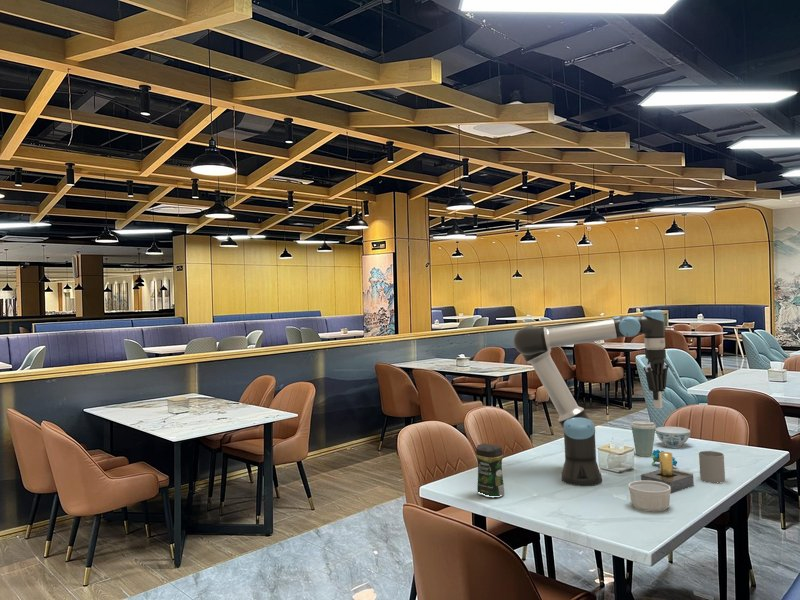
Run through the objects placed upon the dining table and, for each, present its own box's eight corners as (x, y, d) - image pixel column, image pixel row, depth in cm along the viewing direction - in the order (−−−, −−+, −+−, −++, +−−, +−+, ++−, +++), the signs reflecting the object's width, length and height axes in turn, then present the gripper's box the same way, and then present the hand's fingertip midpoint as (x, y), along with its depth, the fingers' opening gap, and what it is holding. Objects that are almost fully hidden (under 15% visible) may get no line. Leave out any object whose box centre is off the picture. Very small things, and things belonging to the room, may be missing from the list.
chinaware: (665, 441, 285) (664, 425, 285) (696, 445, 274) (695, 429, 274) (650, 446, 276) (649, 430, 276) (682, 451, 264) (681, 434, 264)
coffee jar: (473, 495, 214) (471, 444, 215) (487, 490, 220) (485, 440, 220) (494, 500, 207) (492, 448, 208) (508, 495, 213) (505, 444, 213)
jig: (670, 493, 207) (669, 480, 207) (641, 485, 217) (640, 473, 218) (693, 485, 214) (693, 473, 214) (664, 478, 225) (663, 466, 225)
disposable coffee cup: (628, 452, 266) (626, 419, 267) (652, 451, 266) (650, 419, 266) (636, 458, 256) (635, 424, 256) (661, 457, 255) (660, 423, 256)
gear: (683, 464, 237) (667, 449, 236) (677, 476, 235) (660, 460, 234) (662, 462, 247) (647, 447, 246) (656, 473, 245) (640, 458, 244)
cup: (711, 484, 215) (710, 457, 216) (695, 478, 223) (693, 452, 224) (730, 481, 218) (728, 454, 218) (713, 475, 226) (711, 450, 226)
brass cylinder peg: (669, 488, 213) (667, 455, 213) (658, 485, 217) (656, 453, 217) (676, 486, 215) (674, 453, 215) (665, 483, 219) (664, 451, 219)
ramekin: (622, 507, 195) (621, 486, 195) (639, 497, 204) (638, 477, 205) (662, 516, 186) (661, 494, 186) (678, 505, 195) (677, 484, 195)
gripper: (653, 350, 225) (656, 411, 224) (673, 347, 231) (677, 407, 231) (636, 349, 231) (639, 408, 231) (657, 347, 238) (660, 404, 237)
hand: (658, 407), depth 231 cm, fingers closed
